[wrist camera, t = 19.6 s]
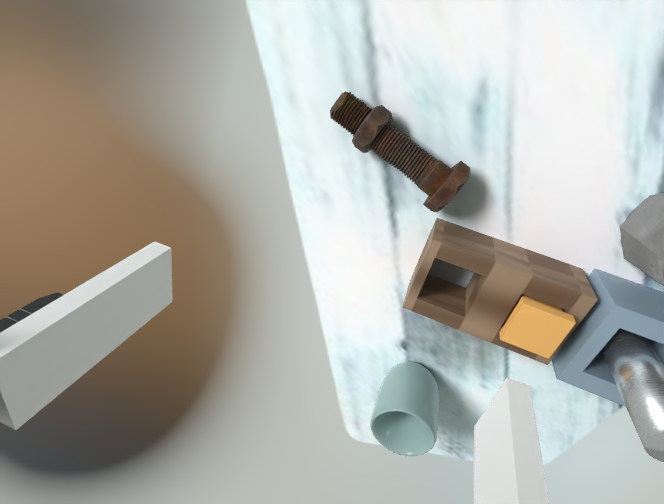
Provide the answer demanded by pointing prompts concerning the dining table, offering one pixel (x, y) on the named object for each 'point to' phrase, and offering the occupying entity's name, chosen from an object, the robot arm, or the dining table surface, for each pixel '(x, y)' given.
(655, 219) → the coffeepot
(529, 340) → the release button
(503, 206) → the dining table surface
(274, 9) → the dining table surface
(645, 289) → the block
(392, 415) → the cup
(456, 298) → the socket block
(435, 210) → the bolt
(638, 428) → the brushed steel rod
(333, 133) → the dining table surface
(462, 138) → the dining table surface
